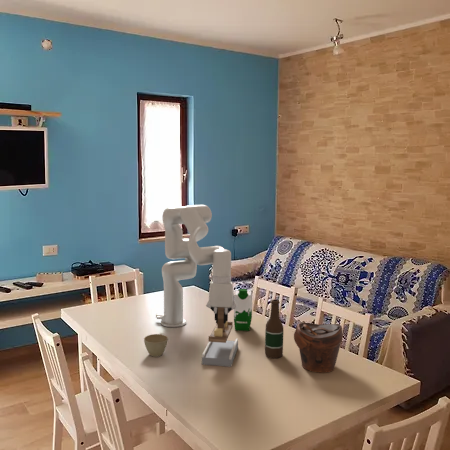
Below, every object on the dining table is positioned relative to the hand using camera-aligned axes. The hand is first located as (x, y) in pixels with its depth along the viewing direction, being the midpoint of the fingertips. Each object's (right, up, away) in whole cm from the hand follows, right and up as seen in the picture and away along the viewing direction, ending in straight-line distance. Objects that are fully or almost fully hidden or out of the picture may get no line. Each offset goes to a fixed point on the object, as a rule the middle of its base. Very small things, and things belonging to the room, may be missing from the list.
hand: (221, 321), depth 202 cm
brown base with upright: (0, -5, +1) cm, 5 cm away
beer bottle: (+22, -15, +4) cm, 27 cm away
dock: (0, -15, +2) cm, 15 cm away
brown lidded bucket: (+39, -17, -7) cm, 43 cm away
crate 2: (+1, -3, +7) cm, 8 cm away
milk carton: (+10, -10, +36) cm, 38 cm away
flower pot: (-28, -15, +2) cm, 31 cm away
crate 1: (-1, -5, -6) cm, 8 cm away
